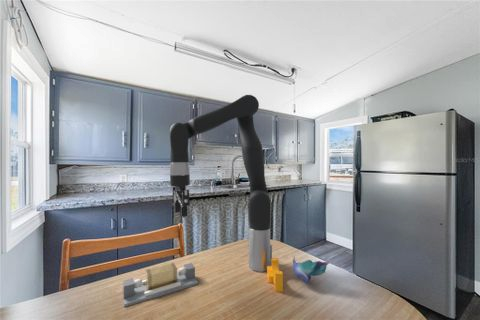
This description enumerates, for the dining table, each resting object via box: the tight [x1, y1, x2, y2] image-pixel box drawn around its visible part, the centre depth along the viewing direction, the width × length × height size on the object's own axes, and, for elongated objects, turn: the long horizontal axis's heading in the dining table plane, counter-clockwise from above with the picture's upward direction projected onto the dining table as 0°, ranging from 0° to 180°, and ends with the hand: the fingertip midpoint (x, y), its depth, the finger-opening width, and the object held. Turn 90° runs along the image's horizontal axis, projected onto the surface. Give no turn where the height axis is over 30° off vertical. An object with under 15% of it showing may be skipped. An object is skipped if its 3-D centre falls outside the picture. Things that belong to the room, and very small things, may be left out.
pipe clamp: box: [266, 257, 284, 293], centre depth 80 cm, size 12×4×6 cm, turn 178°
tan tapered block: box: [145, 262, 178, 291], centre depth 76 cm, size 10×5×6 cm, turn 121°
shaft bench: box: [122, 262, 199, 308], centre depth 76 cm, size 24×10×5 cm, turn 121°
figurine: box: [292, 255, 332, 284], centre depth 79 cm, size 13×12×9 cm
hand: (180, 214), depth 83 cm, fingers open, 8 cm apart
